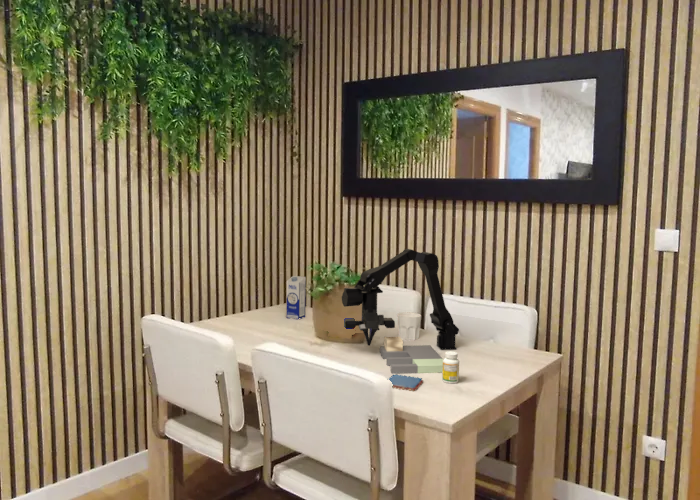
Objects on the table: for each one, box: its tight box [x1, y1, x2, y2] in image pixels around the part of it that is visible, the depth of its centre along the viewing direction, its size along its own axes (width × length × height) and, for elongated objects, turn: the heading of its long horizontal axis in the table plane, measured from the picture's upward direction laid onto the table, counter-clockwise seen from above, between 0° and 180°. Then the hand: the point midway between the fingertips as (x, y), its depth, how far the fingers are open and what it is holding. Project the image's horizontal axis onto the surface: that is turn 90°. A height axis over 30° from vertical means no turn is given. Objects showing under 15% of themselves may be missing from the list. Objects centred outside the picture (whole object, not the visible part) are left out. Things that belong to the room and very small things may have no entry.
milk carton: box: [286, 275, 307, 320], centre depth 280 cm, size 7×7×20 cm
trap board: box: [379, 344, 444, 375], centre depth 212 cm, size 20×26×2 cm
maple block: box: [383, 336, 404, 351], centre depth 219 cm, size 6×6×4 cm
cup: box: [396, 312, 422, 341], centre depth 246 cm, size 10×10×10 cm
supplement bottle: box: [441, 350, 460, 385], centre depth 191 cm, size 5×5×10 cm
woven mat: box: [388, 374, 424, 392], centre depth 187 cm, size 10×11×2 cm
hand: (368, 345), depth 218 cm, fingers closed
